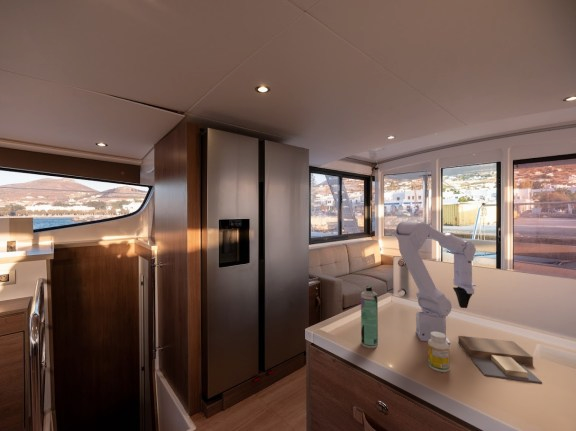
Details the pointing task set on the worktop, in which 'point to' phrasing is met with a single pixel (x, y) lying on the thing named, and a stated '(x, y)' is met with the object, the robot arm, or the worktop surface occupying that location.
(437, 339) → the supplement bottle
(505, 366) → the birch tile
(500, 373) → the rubber mat
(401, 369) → the worktop surface
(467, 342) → the walnut deck
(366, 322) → the spray can
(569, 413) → the worktop surface
